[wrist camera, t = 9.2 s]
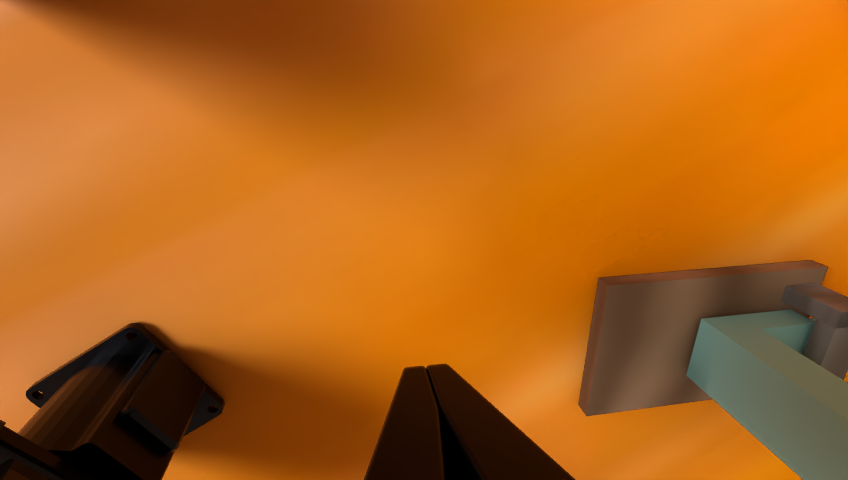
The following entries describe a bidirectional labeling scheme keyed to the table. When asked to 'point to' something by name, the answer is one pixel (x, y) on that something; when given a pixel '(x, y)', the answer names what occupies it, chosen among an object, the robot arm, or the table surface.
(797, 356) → the teal block
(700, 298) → the bracket
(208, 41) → the table surface
